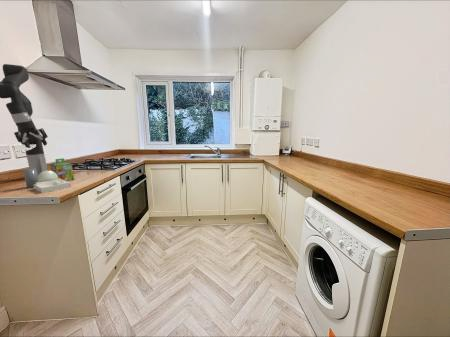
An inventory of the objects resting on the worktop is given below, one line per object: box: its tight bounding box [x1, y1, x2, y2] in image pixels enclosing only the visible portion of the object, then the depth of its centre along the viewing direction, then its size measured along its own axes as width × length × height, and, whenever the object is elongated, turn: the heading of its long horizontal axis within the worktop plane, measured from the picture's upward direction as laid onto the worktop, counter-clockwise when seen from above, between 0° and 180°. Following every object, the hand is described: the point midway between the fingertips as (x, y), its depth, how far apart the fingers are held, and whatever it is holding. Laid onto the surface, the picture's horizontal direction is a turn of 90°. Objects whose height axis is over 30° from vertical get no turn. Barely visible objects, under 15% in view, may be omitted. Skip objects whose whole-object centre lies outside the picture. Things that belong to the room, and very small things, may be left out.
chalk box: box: [50, 157, 75, 182], centre depth 130 cm, size 9×9×15 cm
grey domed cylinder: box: [22, 168, 38, 189], centre depth 116 cm, size 5×5×11 cm
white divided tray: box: [33, 170, 72, 194], centre depth 112 cm, size 15×13×10 cm
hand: (37, 146), depth 122 cm, fingers open, 8 cm apart
